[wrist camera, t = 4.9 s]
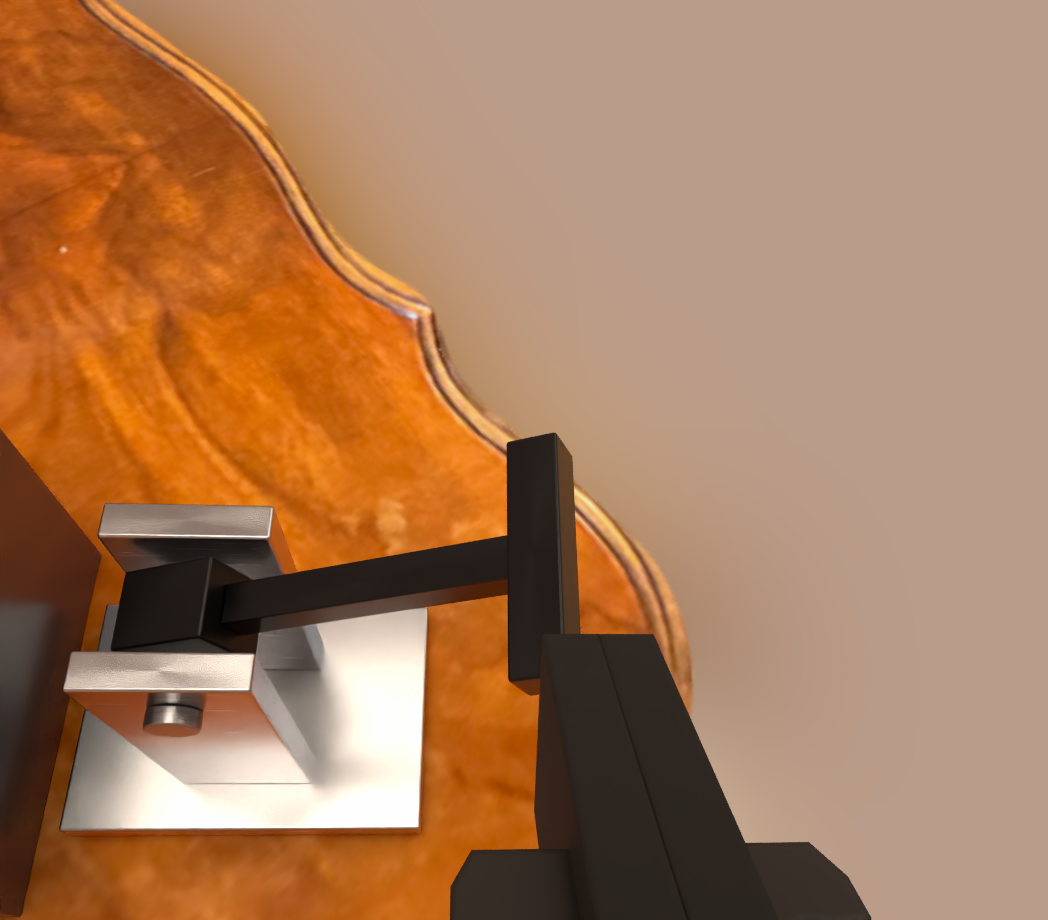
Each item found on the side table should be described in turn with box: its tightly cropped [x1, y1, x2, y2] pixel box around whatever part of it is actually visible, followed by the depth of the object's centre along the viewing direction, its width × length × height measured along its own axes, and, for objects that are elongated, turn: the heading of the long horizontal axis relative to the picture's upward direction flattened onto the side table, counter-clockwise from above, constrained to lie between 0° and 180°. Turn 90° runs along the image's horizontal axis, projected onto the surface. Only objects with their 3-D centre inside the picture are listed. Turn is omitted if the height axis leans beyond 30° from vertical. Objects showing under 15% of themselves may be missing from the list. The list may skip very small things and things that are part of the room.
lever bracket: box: [59, 503, 429, 836], centre depth 29 cm, size 12×8×13 cm, turn 91°
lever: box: [110, 433, 580, 695], centre depth 24 cm, size 12×6×2 cm, turn 91°
